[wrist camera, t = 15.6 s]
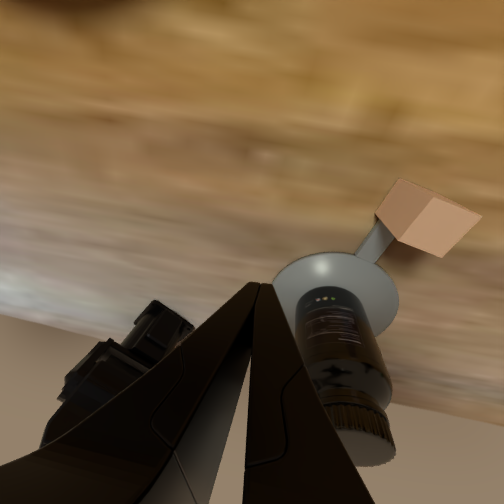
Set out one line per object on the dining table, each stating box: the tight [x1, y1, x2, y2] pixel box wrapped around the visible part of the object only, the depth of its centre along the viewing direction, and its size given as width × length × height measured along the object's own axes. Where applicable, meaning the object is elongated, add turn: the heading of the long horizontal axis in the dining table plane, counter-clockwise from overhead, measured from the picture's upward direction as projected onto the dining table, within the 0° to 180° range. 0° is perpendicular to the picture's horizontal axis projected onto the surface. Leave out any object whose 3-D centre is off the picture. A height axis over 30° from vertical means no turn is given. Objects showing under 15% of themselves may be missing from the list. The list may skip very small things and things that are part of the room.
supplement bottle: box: [295, 286, 396, 467], centre depth 18 cm, size 7×7×12 cm
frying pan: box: [272, 178, 483, 338], centre depth 20 cm, size 16×18×5 cm
